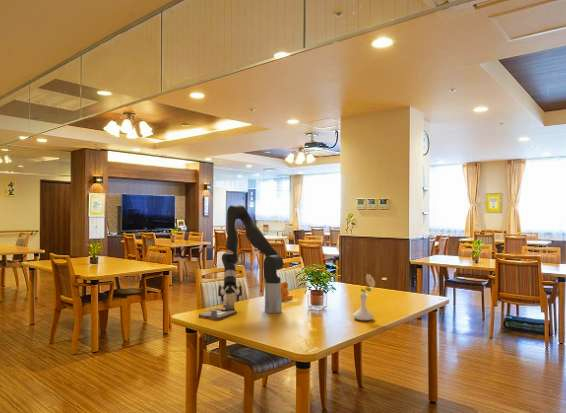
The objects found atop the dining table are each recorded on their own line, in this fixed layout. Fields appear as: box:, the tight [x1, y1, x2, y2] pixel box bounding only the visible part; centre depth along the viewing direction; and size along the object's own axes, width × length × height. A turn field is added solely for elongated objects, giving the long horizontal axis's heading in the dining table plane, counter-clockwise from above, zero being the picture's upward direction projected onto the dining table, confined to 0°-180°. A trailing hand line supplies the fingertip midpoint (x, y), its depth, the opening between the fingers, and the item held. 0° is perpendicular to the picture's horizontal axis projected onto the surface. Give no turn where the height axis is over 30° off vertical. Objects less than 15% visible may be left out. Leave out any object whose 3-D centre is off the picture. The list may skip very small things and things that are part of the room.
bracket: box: [280, 280, 294, 302], centre depth 283 cm, size 11×7×12 cm, turn 125°
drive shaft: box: [220, 303, 229, 311], centre depth 242 cm, size 3×4×3 cm
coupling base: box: [198, 308, 237, 321], centre depth 236 cm, size 14×17×2 cm
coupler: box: [225, 293, 236, 311], centre depth 250 cm, size 5×5×10 cm
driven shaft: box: [210, 309, 217, 317], centre depth 230 cm, size 3×4×3 cm
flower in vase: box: [352, 273, 376, 321], centre depth 232 cm, size 13×11×25 cm
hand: (230, 301), depth 249 cm, fingers open, 8 cm apart
